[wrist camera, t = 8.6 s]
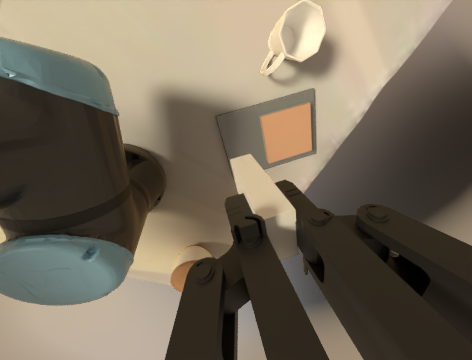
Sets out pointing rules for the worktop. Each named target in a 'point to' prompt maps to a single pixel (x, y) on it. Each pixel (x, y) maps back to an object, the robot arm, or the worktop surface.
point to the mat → (249, 132)
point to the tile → (286, 132)
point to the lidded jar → (186, 264)
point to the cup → (296, 35)
